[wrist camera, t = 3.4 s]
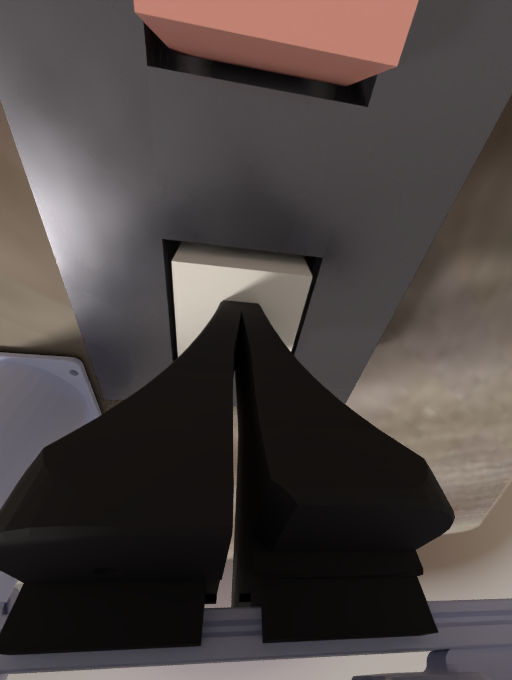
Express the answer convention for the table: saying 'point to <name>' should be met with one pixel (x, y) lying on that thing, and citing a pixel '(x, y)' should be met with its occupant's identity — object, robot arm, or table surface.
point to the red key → (287, 34)
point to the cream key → (237, 287)
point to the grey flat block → (242, 170)
